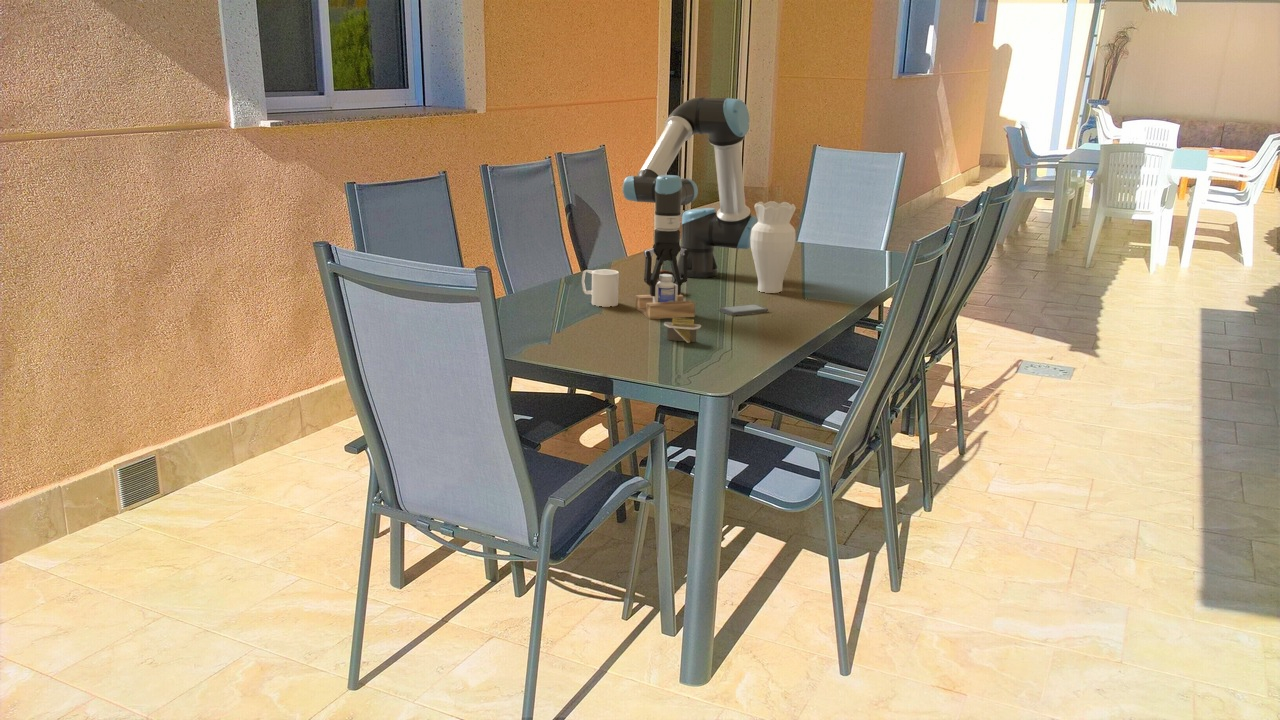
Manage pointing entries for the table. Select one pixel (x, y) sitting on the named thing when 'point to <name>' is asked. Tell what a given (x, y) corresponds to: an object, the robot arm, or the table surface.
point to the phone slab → (743, 309)
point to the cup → (603, 287)
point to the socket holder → (664, 307)
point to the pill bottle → (665, 288)
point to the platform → (682, 330)
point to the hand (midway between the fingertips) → (664, 306)
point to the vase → (772, 243)
